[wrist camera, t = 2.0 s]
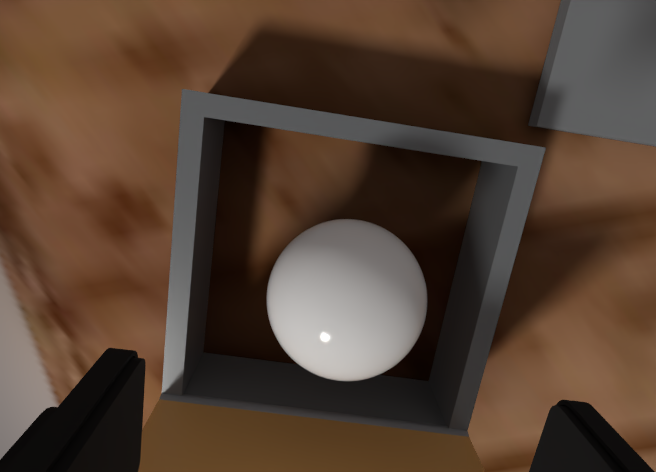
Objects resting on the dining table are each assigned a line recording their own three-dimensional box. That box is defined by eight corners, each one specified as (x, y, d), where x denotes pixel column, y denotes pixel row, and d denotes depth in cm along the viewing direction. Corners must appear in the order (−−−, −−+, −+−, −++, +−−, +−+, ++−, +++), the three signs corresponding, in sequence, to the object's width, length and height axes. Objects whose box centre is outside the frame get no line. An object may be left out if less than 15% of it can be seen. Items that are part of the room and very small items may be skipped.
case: (505, 141, 24) (759, 180, 10) (440, 398, 28) (557, 675, 14) (207, 93, 23) (39, 63, 9) (185, 366, 27) (46, 629, 13)
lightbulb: (416, 248, 26) (484, 343, 15) (332, 315, 27) (340, 448, 16) (345, 164, 24) (365, 203, 14) (259, 238, 25) (216, 327, 15)
